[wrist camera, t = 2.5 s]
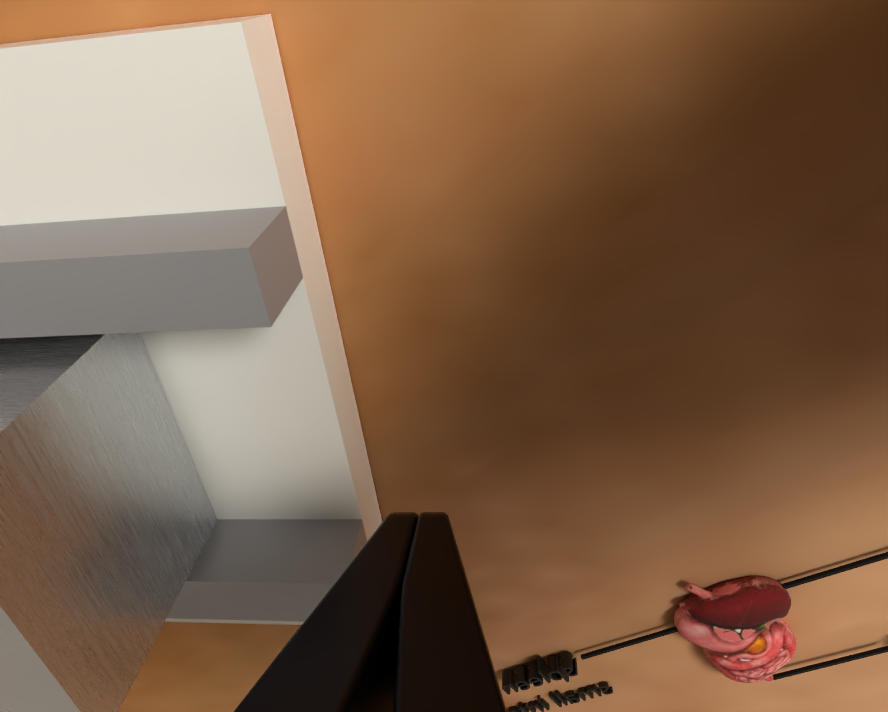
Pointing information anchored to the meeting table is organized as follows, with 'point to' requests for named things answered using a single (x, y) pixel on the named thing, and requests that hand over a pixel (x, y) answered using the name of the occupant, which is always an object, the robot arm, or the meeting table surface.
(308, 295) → the gauge bed
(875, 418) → the meeting table surface
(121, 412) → the brushed metal block
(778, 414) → the meeting table surface
